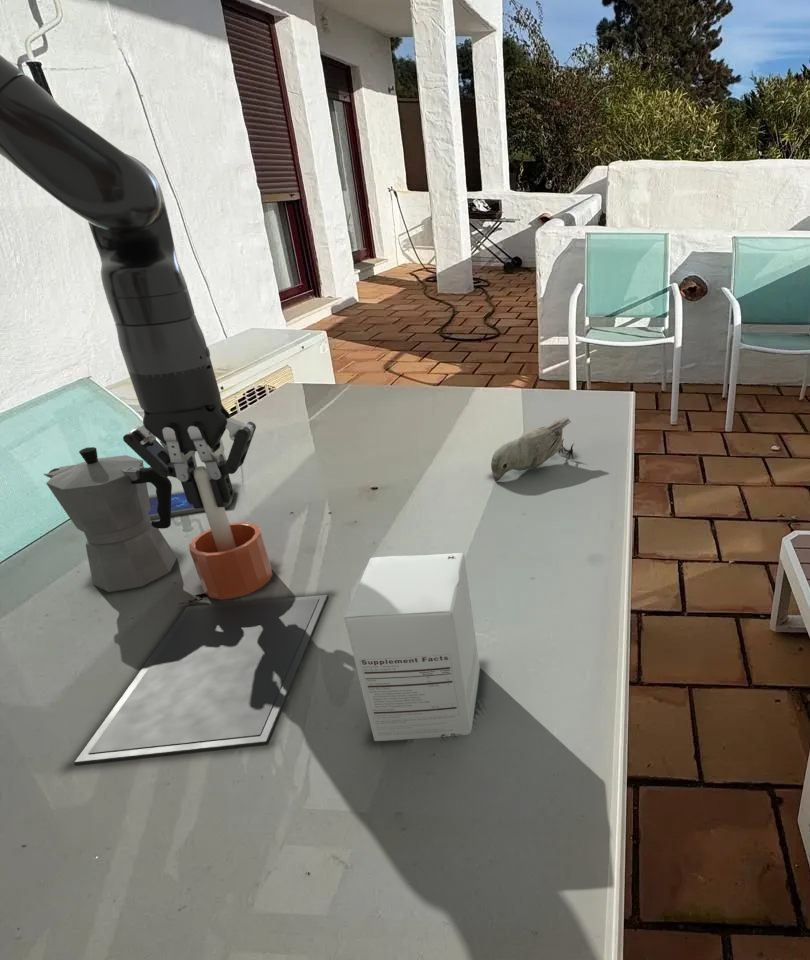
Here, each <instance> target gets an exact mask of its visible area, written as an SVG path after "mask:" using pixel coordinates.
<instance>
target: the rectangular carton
mask: <svg viewBox="0 0 810 960" xmlns="http://www.w3.org/2000/svg"><path fill="white" fill-rule="evenodd" d="M343 619H344V623H345V628H346V631H347V635H348V638H349V644H350V647H351V651H352V656H353V659H354V663H355V667H356V671H357V676H358V679H359V684H360V688H361V692H362V697H363V700H364V705H365V709H366V713H367V716H368V717H367V718H368V720H369V724H370V729H371V732H372V738H373V741H374V742H384V741H385V742H387V741H402V740H417V739H429V738H430V739H431V738H445V737H457V736H468V735H470V734H471V733H472V728H473V723H474V717H475V710H476V709H475V708H476V701H477V696H478V695H477V694H478V687H479V678H480V671H481V670H480V669H481V667H480V661H479V659H480V658H479V652H478V644H477V637H476V630H475V624H474V622H475V621H474V616H473V609H472V599H471V594H470V586H469V579H468V572H467V565H466V558H465V553H464V552H453V553H440V554H439V553H438V554H420V555H385V556H376V557H374V556H373V557H370V558H369V561H368V563H367V565H366V568H365V570H364V572H363V575H362V577H361V579H360V580H359V583H358V586H357V587H356V590H355V592H354V594H353V597H352V599H351V602H350V604H349V606H348V608H347V610H346V613H345V615H344V617H343Z"/></svg>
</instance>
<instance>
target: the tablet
mask: <svg viewBox="0 0 810 960" xmlns="http://www.w3.org/2000/svg"><path fill="white" fill-rule="evenodd" d="M328 598H329V595H328V594H322V595H308V596H298V597H297V596H295V597H284V598H274V599H273V598H272V599H262V600H261V599H259V600H250V601H237V602H225V603H213V604H202V605H193V606H192V605H191V606H190V605H189V606H186V607H185V608H184V610H182V613H181V614H180V615H179V616H178V618H177V619H176V621H175V622H174V624H173V625H172V626H171V628H170V629H169V630H168V632H167V633H166V634H165V636H164V637H163V639H162V640H161V641H160V643H159V644H158V646H157V647H156V649H155V650H154V651H153V653H152V654H151V656H150V657H149V658H148V659H147V661H146V662H145V664H144V665H143V666H142V668H141V669H140V670H139V672H138V673H137V675H136V676H135V678H134V679H133V680H132V682H131V683H130V684H129V686H128V687H127V689H125V691H124V693H123V694H122V695H121V697H120V698H119V700H118V701H117V702H116V704H114V707H112V709H111V711H110V712H109V713H108V715H107V716H106V718H105V719H104V720H103V722H101V724H100V725H99V727H98V728H97V730H96V731H95V732H94V734H93V735H92V736H91V738H90V739H89V741H88V742H87V744H85V747H84V748H83V749H82V751H81V752H80V753H79V755H78V756H77V757H76V759H75V760H74V761H73V764H74V765H82V764H84V765H85V764H92V763H100V762H101V763H102V762H110V761H120V760H128V759H139V758H147V757H156V756H164V755H165V756H166V755H173V754H174V755H175V754H183V753H192V752H201V751H202V752H203V751H211V750H220V749H229V748H230V749H231V748H238V747H247V746H256V745H257V746H258V745H265V744H268V742H269V740H270V738H271V735H272V733H273V730H274V728H275V726H276V724H277V721H278V718H279V716H280V713H281V711H282V709H283V706H284V704H285V702H286V700H287V697H288V694H289V693H290V689H291V687H292V685H293V682H294V680H295V677H296V676H297V673H298V670H299V668H300V665H301V664H302V660H303V658H304V655H305V653H306V651H307V648H308V647H309V645H310V641H311V639H312V636H313V634H314V632H315V629H316V627H317V624H318V622H319V619H320V617H321V614H322V612H323V610H324V608H325V605H326V602H327V600H328Z"/></svg>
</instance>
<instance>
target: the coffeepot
mask: <svg viewBox="0 0 810 960" xmlns="http://www.w3.org/2000/svg"><path fill="white" fill-rule="evenodd" d="M78 453H79V455H80V456H81V458H82V459H83V460H84V461H82V462H79V463H77V464H70V465H63V466H59V467H57V468H53V469H51V470H49V471H48V473H44V474H43V476H45V477H47V478H49V479H48V481H46V483H45V484H46V486H47V487H48V488H49V490H50V492H51V493H52V494H53V496H54V497H55V499H56V500H57V502H58V503H59V505H60V506H61V507H62V509H63V511H64V512H65V513H66V514H67V516H68V517H69V519H70V521H71V522H72V524H73V525H74V526H75V528H76V529H77V530H79V531H81V532H83V533H84V535H85V539H86V542H85V549H86V554H87V559H88V560H87V561H88V565H89V571H90V574H91V575H90V576H91V581H92V585H93V586H95V587H98V589H100V590H101V589H102V590H103V591H106V592H108V593H111V592H112V593H113V592H117V591H124V590H129V589H130V590H131V589H136V588H141V587H144V586H146V585H147V584H150V583H151V582H154V581H155V580H158V579H159V578H161V577H163V576H165V575H167V574H169V573H170V572H171V570H172V569H173V567H174V564H175V563H176V561H177V559H178V557H177V556H176V554H175V552H174V551H173V549H172V547H171V546H170V544H169V542H168V541H167V539H166V538H165V537H164V535H163V534H162V532H161V531H160V529H161V530H164V529H168V528H170V527H171V526H172V516H171V495H172V493H173V486H172V481H171V480H170V479H169V478H168V477H161V476H160V475H159V474H158V473H157V472H156V471H155V470H154V469H152V468H151V467H145V466H144V460H143V459H139V458H136V457H133V456H131V455H128V454H123V455H116V456H115V455H114V456H106V457H98V451H97V447H93V446H91V447H90V446H89V447H84V448H82V449H80V450H79V451H78ZM148 483H150V484H152V485H153V486H154V487H155V495H156V497H157V500H158V507H157V512H158V514H159V517H160V518H159V520H150V518H149V515H148V513H149V511H150V509H151V507H150V501H149V498H150V496H149V490H148V489H149V488H148Z"/></svg>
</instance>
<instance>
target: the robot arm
mask: <svg viewBox="0 0 810 960" xmlns="http://www.w3.org/2000/svg"><path fill="white" fill-rule="evenodd" d="M0 156H1V157H2V158H4V159H5V160H7V161H8V162H9V163H11V164H12V165H13V166H15V168H16V169H18V170H19V172H22V173H23V174H24V176H26V177H28V178H29V179H30V180H31V181H33V182H34V183H35V184H36V185H38V186H39V187H40V188H42V189H43V190H44V191H45V192H47V194H49V195H50V196H51V197H53V198H54V199H56V201H58V202H59V203H61V204H62V205H63V206H65V207H66V208H67V209H69V210H71V212H73V213H74V214H75V215H78V216H79V217H81V218H82V219H83V220H84V221H87V223H88V226H89V229H90V232H91V235H92V237H93V241H94V244H95V247H96V249H97V253H98V255H99V258H100V279H101V285H102V288H103V293H104V294H105V299H106V300H107V305H108V306H109V309H110V312H111V316H112V319H113V322H114V326H115V329H116V333H117V339H118V345H119V348H120V351H121V354H122V358H123V360H124V363H125V366H126V368H127V372H128V375H129V378H130V380H131V381H130V382H131V384H132V387H133V390H134V393H135V396H136V399H137V402H138V404H139V407H140V408H141V410H143V419H142V425H139V426H135V427H134V428H133V429H131V430H130V431H128V432H127V433H126V434H125V435H123V437H122V440H123V442H124V443H125V444H126V445H127V446H128V447H129V448H130V449H131V450H132V451H133V452H135V454H137V455H138V457H140V458H141V460H143V462H145V463H146V464H147V465H148V466H149V468H152V469H154V470H155V471H156V472H157V473H158V474H159V475H160V476H161V477H167V478H168V477H171V478H175V479H177V480H178V481H180V483H181V486H182V490H183V493H185V496H186V499H187V501H188V502H189V504H193V506H194V508H195V509H201V508H203V507H204V506H203V503H202V500H201V497H200V494H199V491H198V487H197V484H196V481H195V478H194V470H195V469H196V468H197V467H198V465H197V461H196V453H197V456H198V457H199V460H200V462H202V463H203V464H204V465H205V466H206V468H207V470H208V473H209V475H210V477H211V479H210V484H211V487H212V491H213V494H214V497H215V500H216V504H217V506H218V507H226V506H227V505H228V503H229V502H230V500H231V499H232V498H233V499H234V496H235V493H234V491H233V487H234V486H233V485H232V481H231V477H230V475H233V474H235V473H236V472H237V471H238V469H239V468H240V467H242V465H243V464H244V463H245V459H246V456H247V455H248V451H249V449H250V445H251V443H252V440H253V437H254V434H255V432H256V429H257V425H256V423H254V422H253V421H250V420H249V421H246V422H243V421H240V420H238V419H235V418H232V417H231V414H230V413H229V411H228V410H227V409H226V408H225V407H224V405H223V403H222V398H221V397H222V396H221V392H220V388H219V385H218V382H217V381H218V380H217V378H216V374H215V371H214V367H213V364H212V363H213V362H212V359H211V351H210V349H209V347H208V346H207V342H206V339H205V336H204V333H203V330H202V328H201V327H200V324H199V322H198V319H197V316H196V312H195V309H194V306H193V302H192V298H191V295H190V292H189V288H188V285H187V281H186V279H185V276H184V274H183V271H182V269H181V266H180V264H179V261H178V257H177V253H176V247H175V242H174V238H173V232H172V229H171V223H170V219H169V214H168V209H167V205H166V202H165V196H164V194H163V190H162V187H161V185H160V182H159V181H158V178H157V177H156V176H155V174H154V172H153V171H152V170H151V169H150V168H149V167H148V166H147V165H146V164H145V163H144V162H142V161H140V160H139V159H137V158H136V157H134V156H133V155H130V154H128V153H125V152H124V151H122V150H121V149H119V148H118V147H117V146H115V145H114V144H113V143H111V142H109V141H108V140H107V139H105V138H104V137H103V136H102V135H100V134H99V133H97V132H96V131H95V130H93V129H92V128H90V127H89V126H87V125H86V124H85V123H84V122H82V121H80V119H78V118H76V117H75V116H74V115H72V114H71V113H69V112H68V111H67V110H66V109H64V108H63V107H62V106H60V105H59V103H58V102H57V101H56V100H55V98H54V97H53V96H52V95H50V93H48V92H47V91H46V90H45V89H44V88H43V87H42V86H41V85H39V84H38V83H37V82H36V81H35V80H33V79H32V78H31V77H29V76H28V75H27V74H26V73H24V72H23V71H22V70H21V69H19V68H18V67H17V66H15V64H13V63H12V62H10V60H8V59H6V58H5V57H4V56H2V55H1V54H0ZM226 430H228V433H229V435H228V436H229V439H230V440H231V441H232V445H231V448H230V451H229V453H228V456H227V457H226V455H225V446H224V443H223V440H222V437H223V435H224V434H225V432H226ZM158 440H159V441H160V442H159V441H158ZM161 443H163V444H164V445H165V446H166V448H165V447H164V446H163V445H162V444H161ZM232 486H233V487H232ZM233 499H232V500H233ZM226 508H227V507H226Z"/></svg>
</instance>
